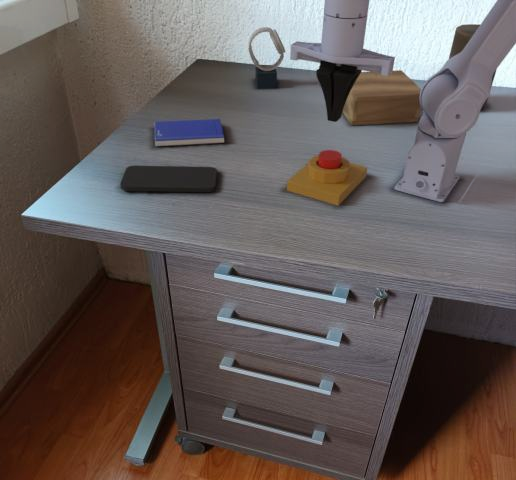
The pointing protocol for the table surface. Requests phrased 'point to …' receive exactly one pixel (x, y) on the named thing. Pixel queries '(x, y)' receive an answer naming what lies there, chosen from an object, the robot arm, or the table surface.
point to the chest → (381, 111)
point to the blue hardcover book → (188, 132)
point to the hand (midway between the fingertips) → (334, 118)
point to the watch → (267, 73)
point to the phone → (169, 179)
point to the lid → (384, 87)
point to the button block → (327, 181)
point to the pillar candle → (465, 43)
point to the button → (329, 159)
